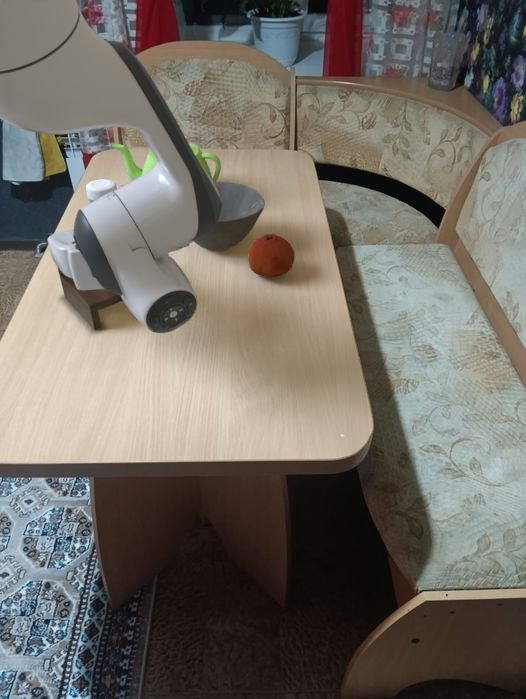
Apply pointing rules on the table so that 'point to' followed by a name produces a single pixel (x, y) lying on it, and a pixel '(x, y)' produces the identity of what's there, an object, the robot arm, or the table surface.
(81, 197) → the table surface
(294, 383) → the table surface
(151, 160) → the teapot
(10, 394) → the table surface
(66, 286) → the shelf
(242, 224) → the bowl
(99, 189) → the sprinkles bottle
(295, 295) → the table surface
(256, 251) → the fruit
